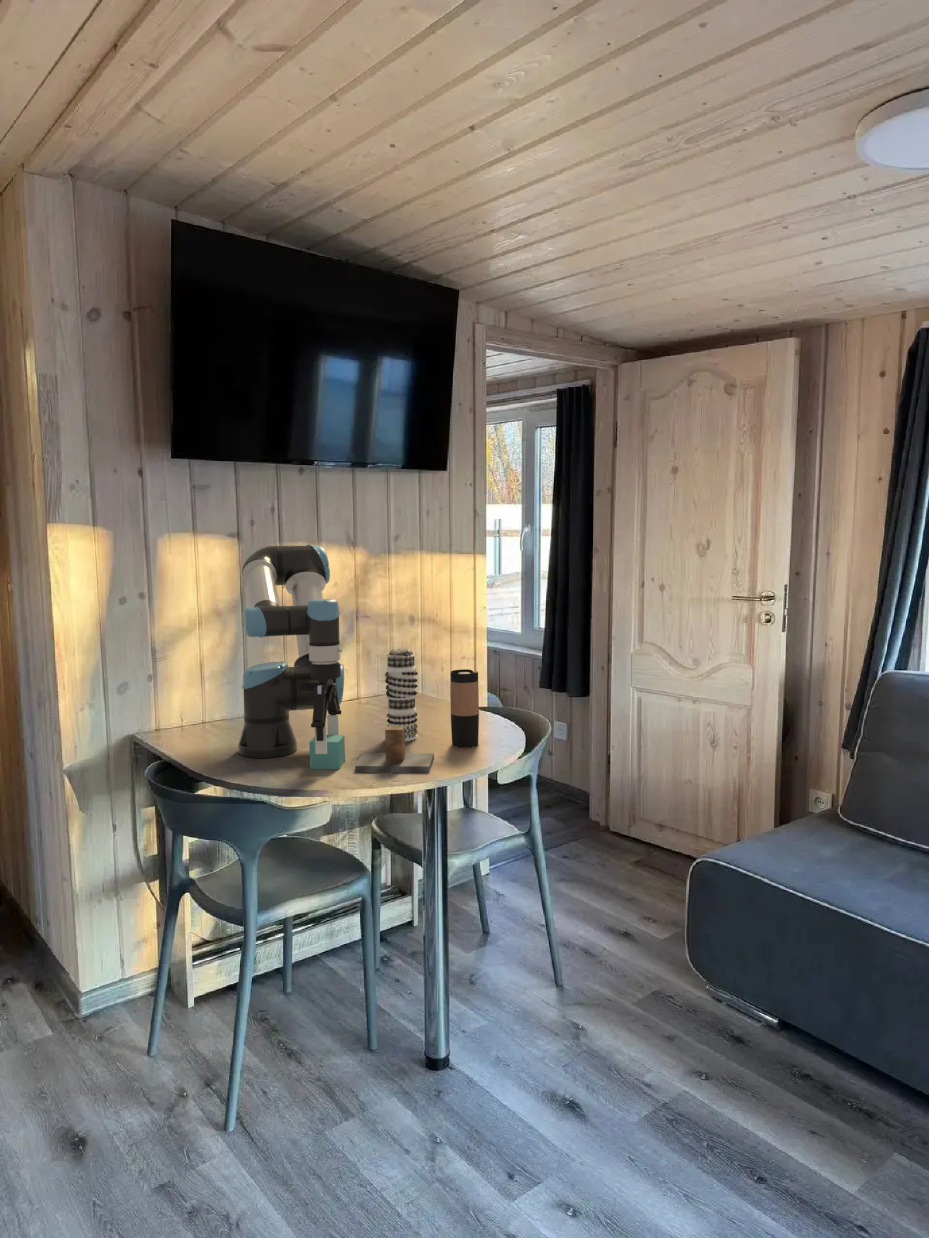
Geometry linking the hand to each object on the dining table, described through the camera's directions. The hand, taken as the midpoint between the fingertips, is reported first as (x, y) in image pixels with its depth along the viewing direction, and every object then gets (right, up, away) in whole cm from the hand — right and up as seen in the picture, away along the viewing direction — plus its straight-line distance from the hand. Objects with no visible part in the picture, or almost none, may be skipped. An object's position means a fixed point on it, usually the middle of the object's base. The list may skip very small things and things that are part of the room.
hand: (327, 746), depth 213 cm
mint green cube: (0, -5, +1) cm, 5 cm away
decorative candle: (+17, -2, +28) cm, 32 cm away
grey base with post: (+17, -5, 0) cm, 17 cm away
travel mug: (+34, -2, +20) cm, 40 cm away
